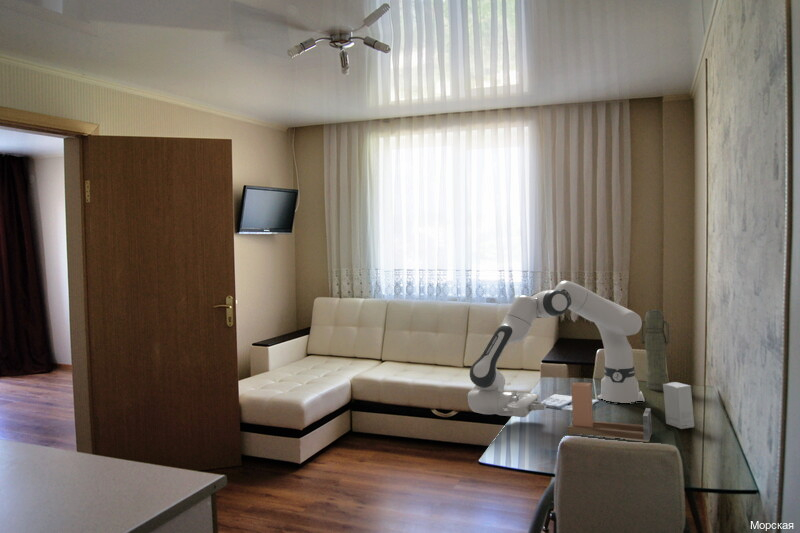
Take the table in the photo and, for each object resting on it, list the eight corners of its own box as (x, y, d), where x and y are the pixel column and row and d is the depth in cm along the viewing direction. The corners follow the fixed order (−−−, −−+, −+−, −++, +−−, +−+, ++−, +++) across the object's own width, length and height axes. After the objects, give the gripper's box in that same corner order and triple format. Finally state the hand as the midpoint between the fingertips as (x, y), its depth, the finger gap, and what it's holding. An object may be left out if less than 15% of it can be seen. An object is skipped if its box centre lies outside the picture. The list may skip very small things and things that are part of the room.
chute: (573, 426, 219) (572, 402, 218) (651, 433, 206) (650, 408, 206) (567, 434, 210) (566, 409, 210) (648, 441, 197) (647, 416, 197)
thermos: (671, 391, 260) (668, 311, 259) (642, 389, 265) (639, 311, 265) (672, 386, 268) (669, 309, 267) (644, 385, 273) (641, 309, 272)
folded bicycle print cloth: (555, 397, 263) (555, 392, 263) (600, 403, 250) (600, 397, 250) (536, 407, 248) (535, 402, 248) (582, 414, 235) (582, 408, 235)
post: (576, 425, 216) (574, 382, 215) (593, 427, 213) (591, 383, 212) (573, 429, 211) (571, 385, 211) (590, 431, 208) (588, 386, 208)
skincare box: (694, 427, 209) (693, 385, 209) (679, 429, 208) (678, 387, 208) (678, 421, 217) (676, 380, 217) (664, 423, 216) (662, 382, 216)
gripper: (499, 402, 216) (537, 405, 209) (516, 389, 234) (551, 391, 227) (500, 419, 216) (538, 423, 209) (517, 405, 234) (552, 407, 227)
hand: (545, 406), depth 218 cm, fingers closed
